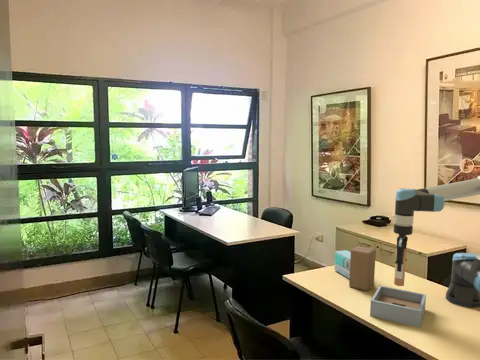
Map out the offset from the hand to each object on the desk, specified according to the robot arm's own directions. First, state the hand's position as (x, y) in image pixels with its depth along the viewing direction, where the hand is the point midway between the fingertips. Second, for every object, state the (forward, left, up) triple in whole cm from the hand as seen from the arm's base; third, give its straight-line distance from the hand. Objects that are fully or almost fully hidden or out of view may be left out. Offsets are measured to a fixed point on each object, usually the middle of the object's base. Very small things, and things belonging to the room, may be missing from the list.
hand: (399, 276), depth 169 cm
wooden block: (+21, -22, -17) cm, 35 cm away
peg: (0, 0, -4) cm, 4 cm away
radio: (+32, -35, -17) cm, 50 cm away
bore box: (0, 0, -17) cm, 17 cm away
